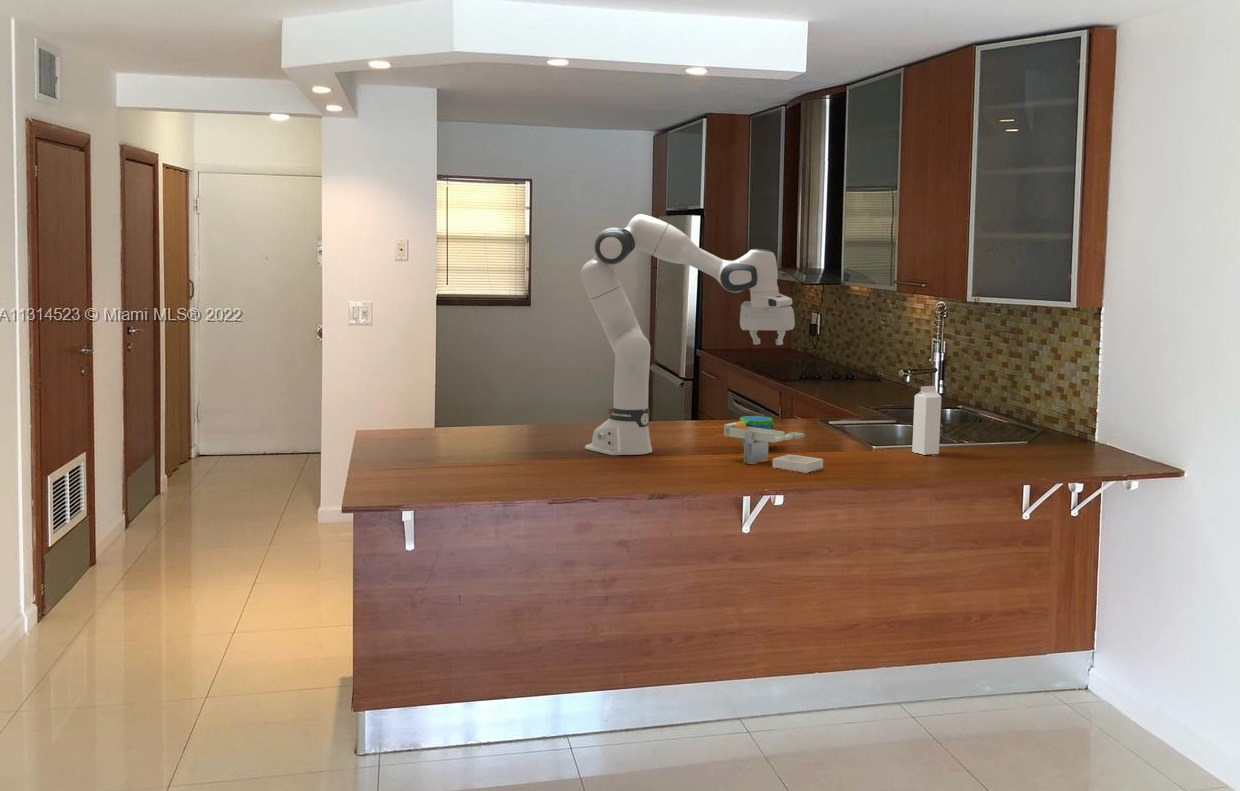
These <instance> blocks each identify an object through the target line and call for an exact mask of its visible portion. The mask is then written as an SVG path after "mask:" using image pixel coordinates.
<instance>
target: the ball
mask: <svg viewBox="0 0 1240 791" xmlns="http://www.w3.org/2000/svg"><path fill="white" fill-rule="evenodd" d="M735 429H743V430H746V424H745V423H744V422H742V421H740V420H739V421H737V422H736V424H735Z"/></svg>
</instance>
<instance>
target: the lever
mask: <svg viewBox="0 0 1240 791" xmlns="http://www.w3.org/2000/svg"><path fill="white" fill-rule="evenodd" d="M736 423H737V422H730V423H725V424H724V425H723V436H724V437H732V438H736V439H737V438H744V439H745V432H752V433H754V440H758V441H766V442H768V443H773V444H775V443H777V442H783V441H787V440H792V439H795V440H797V439H801V438H804V437H805V433H803V432H796V431H795V432H793V431H792V432H789V433H785V431H783V430H775V429H774V430H768V429H760V428H753V427H746V430H743V429H735V424H736Z"/></svg>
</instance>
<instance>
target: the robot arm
mask: <svg viewBox="0 0 1240 791" xmlns="http://www.w3.org/2000/svg"><path fill="white" fill-rule="evenodd" d="M634 250H638V251H639V250H640V251H643V252H645V253H647V254H649V255H651V256H652V257H655V258H657V259H658V260H661V261H665V262H668V263H672V264H680V265H685V266H690V267H692V268H695V269H696V270H699V271H701V272H702V273H705V274H707V275H709V276H711V277H712V278H713V279H715V280H716V281H717V283H718V284H719V285H720V286H721V287H722V288H723V289H724V290H726V291H728V292H730V293H740V292H743V291H746V290H749V292H750V293H749V294H750V300H745V301H743V302H742V303H741V305H740V312H739V313H740V315H739V326H740V328H741V330H742V331H749V335H750V337H751V339H752V342H753V343H752V344H753V345H761V338H759V336H758V334H757V333H758V331H776V332H777V333H776V334H777V335H778V336H777V339H775V340H774V341H775V345H776V346H782V345H784V337H785V336H786V331H791V330H793V329H794V328H795V325H796V323H795V312H794V308H793V307H792V306H791V305H793V299H792V297H789V296H787V295H783V294H782V293H780V292H779V291H780V290H779V286H778V277H779V276H778V275H779V274H778V265H777V264H778V263H777V259H776V255H775V254H774V252H773V251H771V250H770V249H763V248H761V249H760V248H752V249H750V250H749V251H748V252H747V253H745V254H743V255H742V256H740V257H739V258H736V259H725V258H724V259H723V258H720V257H718V256H716V255H715V254H712V253H710V252H708V251H707V250H704V249H702V248H700V247H699V246H698V245H697V244H695V243H694V242H693V241H692V239H691V238H690V237H689V236H688V235H687V234H685V233H684V232H683V231H682V230H680V229H678V227H676V226H673V225H672V224H670V223H668V222H666V221H663V220H661V219H659V218H657V217H654V216H650V215H646V214H643V213H637V214H636V215H635V216H633V217H632V218H631V219H630V221H629V222H628V224H627V226H625V227H624V228H620V227H616V226H612V227H607V228H605V229H604V230H602V231H600V233H598V235H597V237H596V239H595V242H594V253H595V256H594V257H593V258H591V259H589V261H587V262H586V263H585V264H584V265H583V266H582V268H581V270H580V271H581V273H580V275H581V279H582V282H583V286H584V288H585V292H586V294H587V296H588V299H589V301H590V303H591V305H592V307H593V309H594V311H595V314H596V316H597V318H598V320H599V322H600V324H601V326H602V328H603V331H604V333H605V336H606V338H607V340H608V343H609V345H610V347H611V349H612V351H613V354H614V373H613V376H614V377H613V407H612V408H609V409H606V411H607V412H606V414H609V416H608V419H607V420H604V422H603V423H601V424H600V425H599V426H598V427H597V428H595V429H594V431H593V434H592V439H591V440H592V441H591V443H588V444H586V445H585V446H584V449H585V450H589V451H593V452H598V453H601V454H605V455H609V456H621V455H622V456H623V455H624V456H625V455H626V456H628V455H629V456H632V455H633V456H634V455H646V454H649V453H650V454H651V453H652V452H653V449H652V444H651V439H650V429H649V422H650V408H649V379H650V377H649V376H650V367H651V366H650V365H651V344H650V341H649V339H648V338H647V337H646V336H645V335H644V333H643V331H642V328H641V326H640V325H639V322H638V319H637V317H636V315H635V312H634V308H633V307H632V304H631V303H630V300H629V297H628V296H627V293H626V292H625V290H624V287H623V285H622V283H621V281H620V279H619V276H618V273H617V265H618V264H620V263H622V262H623V261H624V260H625V259H626V258H628V256H629V255H630V254H631V253H632V252H633V251H634Z"/></svg>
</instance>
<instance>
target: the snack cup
mask: <svg viewBox="0 0 1240 791" xmlns="http://www.w3.org/2000/svg"><path fill="white" fill-rule="evenodd" d="M739 421H742V422H744V423H745V424H746V427H753V428H760V429H768V430H775V427H774V421H773V418H772V417H768V416H760V415H746V416H741V417H739ZM736 439H737V440H738V441H741V442H742V443H743V445H744V442H745V439H744V438H737V437H736Z"/></svg>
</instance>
